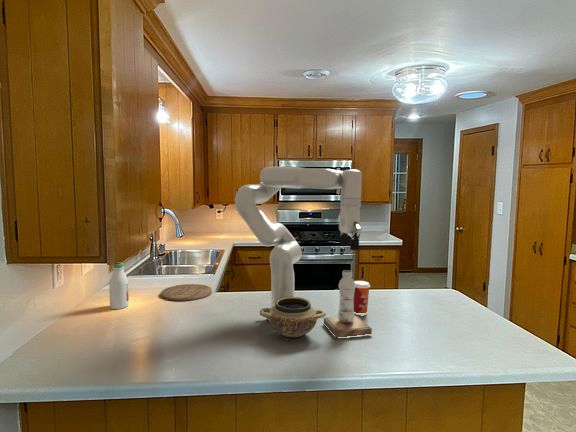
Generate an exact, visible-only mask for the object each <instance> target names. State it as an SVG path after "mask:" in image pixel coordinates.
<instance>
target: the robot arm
mask: <svg viewBox="0 0 576 432" xmlns="http://www.w3.org/2000/svg"><path fill="white" fill-rule="evenodd" d="M362 177H363V175H362V172H361V170H358V169H345V170H337V169H332V168H316V167H315V168H313V167H312V168H310V167H308V168H307V167H301V166H276V165H275V166H273V165H272V166H266V167H264V168H262V169H261V171H260V174H259V180H260V182H259V183H258V184H253V183H252V184H245V185H241V187H239V188H238V190H237V191H236V193H235V196H234V206H235V209H236V211H237V213H238V215H239V216H240V218H242V220H243V221H244V222H245V224H246V225H247V226H248V228H249V229H250V231H251V232H252V233H253V235H254V236H255V237H256V238H257V240H258V242H259V243H260V244H261V245H263V246H264V247H272V246H274V247H273V249H272V250H271V251H270V255H269V266H270V270H271V272H270V273H271V274H270V275H271V276H270V277H271V286H270V287H271V290H270V291H271V293H270V295H271V297H270V299H271V300H270V302H271V303H270V304H271V305H270V306H271V307H269V308H272V307H274V306H275V303H276V301H277V300H278V299H281V298H285V297H295V271H294V264H296V263H298V261H300V259H301V258H302V254H303V251H302V248H301V246H300V244H299V243H298V242H297V240H296V239H295V237H294V236H293V235H292V233H291V232H290V231H289V229H288V228H287V227H286V226H285V225H284V224H283V223H281V222H279V221H278V222H277V221H273V222H272V221H271V220H269V217H267V215H266V214H265V213H264V212H263V211H262V210H261V209H260V208H259V207H258V205H260V204H264V203H266V202H268V201H269V200H270V199H271V198H273V196H275V194H276V193H278V191H280V190H281V189H282V188H284V189H296V190H299V189H315V190H316V189H317V190H318V189H319V190H338V189H340V211H339V222H338V223H339V224H338V230H339V231H340V246H341V247H346V246H348V247H350V248H349V249H350V251H359V249H360V239H361V238H360V236H361V231H362V228H361V211H360V208H361V207H362V204H361V203H362ZM349 234H350V236H349ZM350 238H351V239H350ZM349 240H350V241H349ZM349 245H350V246H349ZM265 313H269V312H265ZM259 316H261V317H263V316H262V315H260V314H259ZM266 319H268V318H266ZM268 320H269V319H268ZM268 320H267V321H268Z"/></svg>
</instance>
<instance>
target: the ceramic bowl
mask: <svg viewBox="0 0 576 432" xmlns="http://www.w3.org/2000/svg"><path fill="white" fill-rule="evenodd" d="M311 305H312V304H311V302H310V300H309V299H307V298H304V297H299V296H294V297H285V298H281V299H278V300H277V301H276V303H275V306H274V307H272V308H270V307H263V308H261V309H260V310H259V316H260V315H262V316H261V317H263V318H265V319H267V318H268V319H269V321H268V322H269V324H270V326H271V327H272V329H273V330H274V331H275V332H276V333H278V334H280V336H279V337H280V338H281V337H282V338H283V340H285V339H287V340H286V341H288V340H298V341H300V340H299V339H301V338H303V337H304V336H305V337H306V335H307V334H308V333H310V332H311V331H312V330H313V329H314V328H315V326H316V324H317V321H318V319H321V318H325V316H326V315H327V312H326V311H325V310H323V309H316V308H313V306H311ZM265 312H269V313H265ZM305 337H304V338H305ZM282 338H281V339H282ZM304 338H303V339H304ZM301 340H302V339H301Z"/></svg>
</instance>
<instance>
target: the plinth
mask: <svg viewBox="0 0 576 432" xmlns="http://www.w3.org/2000/svg"><path fill="white" fill-rule="evenodd" d="M354 315H355V314H354ZM324 324H325V325H326V326H327V327H328V328H329V330H330V331H331V332H332V333H333V334H334V335H335V337H336V338H338V337H347V336H357V335H365V334H372V331H373V329H372V327H371V326H370V325H368V324H367V323H366V322H365V321H364V320H362V319H361V318H360V316H357V315H355V317H354V320H353V322H351V323H342V322H340V321H339V319H338V316H328V317H323V325H324ZM335 337H334V338H335Z"/></svg>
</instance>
